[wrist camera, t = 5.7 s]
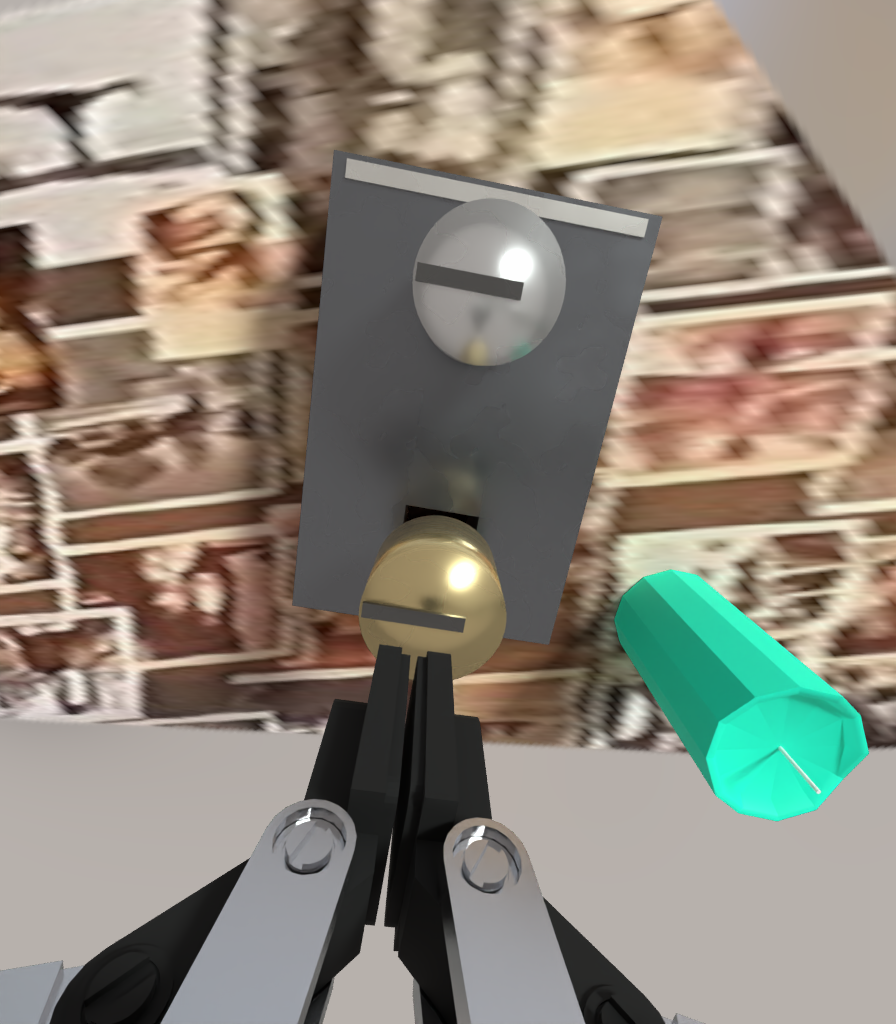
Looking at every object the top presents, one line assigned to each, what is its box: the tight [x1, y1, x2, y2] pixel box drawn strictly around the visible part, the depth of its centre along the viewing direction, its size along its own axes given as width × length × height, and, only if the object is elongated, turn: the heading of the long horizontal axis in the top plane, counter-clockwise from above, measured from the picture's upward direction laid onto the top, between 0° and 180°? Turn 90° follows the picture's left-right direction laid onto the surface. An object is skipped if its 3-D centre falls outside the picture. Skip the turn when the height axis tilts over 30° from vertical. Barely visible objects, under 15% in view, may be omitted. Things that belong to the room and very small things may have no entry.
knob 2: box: [359, 514, 506, 680], centre depth 19 cm, size 5×5×8 cm
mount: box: [292, 150, 662, 645], centre depth 22 cm, size 12×18×5 cm, turn 170°
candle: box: [614, 570, 869, 821], centre depth 22 cm, size 6×6×12 cm
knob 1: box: [412, 198, 566, 366], centre depth 18 cm, size 5×5×8 cm
